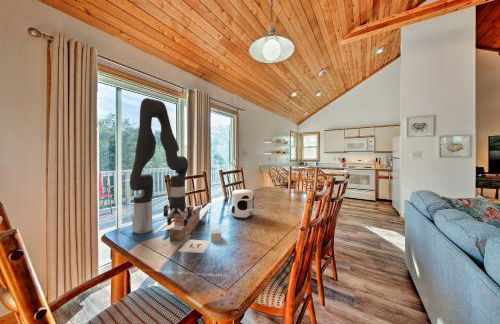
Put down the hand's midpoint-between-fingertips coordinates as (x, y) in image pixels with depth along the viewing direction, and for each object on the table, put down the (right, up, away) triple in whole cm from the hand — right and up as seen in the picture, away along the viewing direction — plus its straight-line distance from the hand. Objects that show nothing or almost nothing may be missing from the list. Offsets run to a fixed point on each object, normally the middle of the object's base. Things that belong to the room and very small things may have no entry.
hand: (177, 225), depth 103 cm
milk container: (+33, -6, +39) cm, 51 cm away
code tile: (+11, -8, -7) cm, 16 cm away
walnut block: (0, -7, 0) cm, 7 cm away
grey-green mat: (0, -8, 0) cm, 8 cm away
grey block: (+20, -8, 0) cm, 22 cm away
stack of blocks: (-1, -7, +20) cm, 22 cm away
